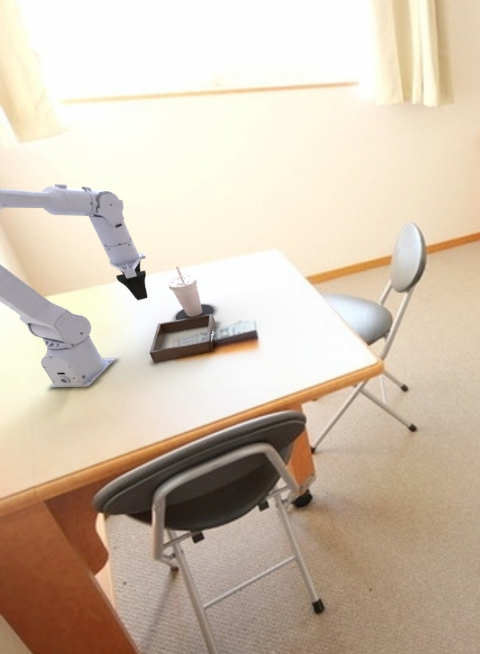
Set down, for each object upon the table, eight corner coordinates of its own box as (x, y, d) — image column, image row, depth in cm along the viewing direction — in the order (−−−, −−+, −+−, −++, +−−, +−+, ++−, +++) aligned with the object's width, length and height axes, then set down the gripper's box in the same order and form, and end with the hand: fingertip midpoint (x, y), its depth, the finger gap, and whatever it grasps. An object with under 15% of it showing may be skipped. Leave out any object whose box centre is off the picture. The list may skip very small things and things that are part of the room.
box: (212, 351, 118) (208, 341, 116) (154, 363, 114) (149, 352, 112) (215, 323, 128) (212, 313, 126) (162, 333, 124) (158, 323, 122)
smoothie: (188, 322, 127) (168, 274, 120) (176, 313, 131) (156, 267, 123) (212, 311, 132) (195, 265, 124) (200, 304, 135) (183, 258, 127)
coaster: (204, 323, 128) (204, 321, 128) (169, 323, 127) (168, 322, 127) (219, 305, 135) (218, 304, 135) (186, 305, 135) (185, 304, 135)
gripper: (141, 247, 110) (163, 299, 118) (133, 227, 120) (154, 276, 127) (103, 255, 106) (129, 308, 114) (98, 234, 116) (122, 284, 123)
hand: (140, 292), depth 120 cm, fingers open, 7 cm apart
